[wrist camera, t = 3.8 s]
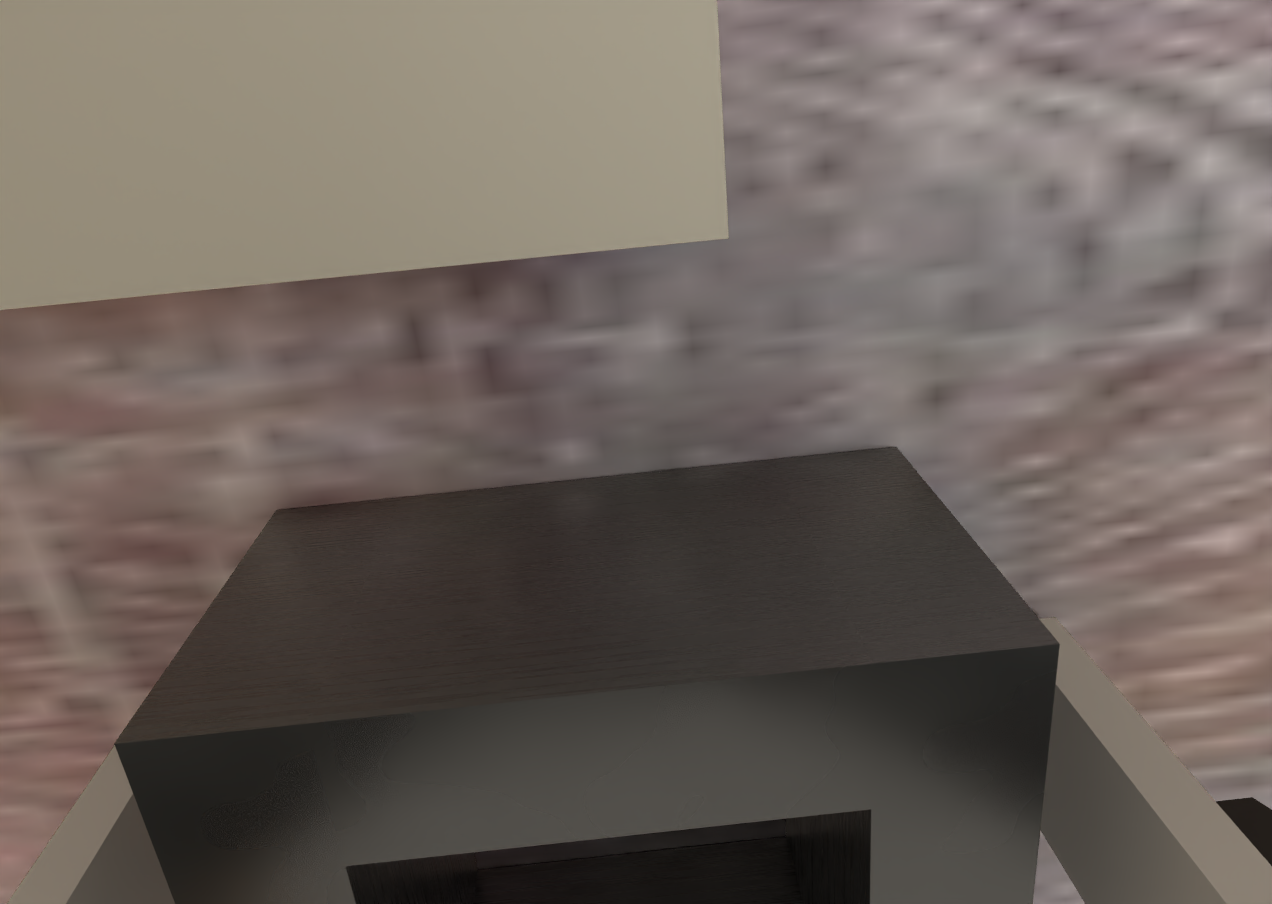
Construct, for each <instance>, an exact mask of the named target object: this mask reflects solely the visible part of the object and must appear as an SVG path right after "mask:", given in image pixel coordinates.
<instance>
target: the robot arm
mask: <svg viewBox="0 0 1272 904" xmlns="http://www.w3.org/2000/svg"><path fill="white" fill-rule="evenodd" d="M1040 621H1041V622H1042V623H1043V624H1044V625H1045V627H1046V628H1047V629H1048V630H1049V631H1050V633H1051V634H1052V635H1053V636H1054V637H1055V639H1056V640H1057V641H1058V642H1059V644H1060V647H1059V656H1058V666H1057V675H1056V685H1055V694H1054V704H1053V713H1052V723H1051V732H1050V742H1049V751H1048V761H1047V770H1046V780H1045V789H1044V799H1043V808H1042V818H1041V827H1040V830H1041V831H1042V833H1043V835H1044V836H1045V838H1046V840H1047V841H1048V843H1049V845H1050V846H1051V848H1052V850H1053V851H1054V853H1055V855H1056V856H1057V858H1058V859H1059V861H1060V863H1061V864H1062V866H1063V868H1064V869H1065V871H1066V873H1067V874H1068V876H1069V878H1070V879H1071V881H1072V882H1073V884H1074V886H1075V887H1076V889H1077V891H1078V892H1079V894H1080V896H1081V897H1082V899H1083V901H1084V902H1085V904H1272V810H1271V809H1270V808H1268V807H1267V806H1265V805H1263V804H1262V803H1260V802H1259V801H1257V800H1256V799H1254V798H1252V797H1251V798H1243V799H1234V800H1225V801H1216V802H1215V800H1214V799H1213V798H1212V797H1211V796H1210V795H1209V794H1208V792H1207V791H1206V790H1205V789H1204V788H1203V787H1202V786H1201V784H1200V783H1199V782H1198V781H1197V780H1196V779H1195V777H1194V776H1193V775H1192V774H1191V773H1190V772H1189V771H1188V769H1187V768H1186V767H1185V766H1184V765H1183V764H1182V763H1181V761H1180V760H1179V759H1178V758H1177V757H1176V756H1175V755H1174V753H1173V752H1172V751H1171V750H1170V749H1169V748H1168V746H1167V745H1166V744H1165V743H1164V742H1163V741H1162V740H1161V738H1160V737H1159V736H1158V735H1157V734H1156V733H1155V732H1154V730H1153V729H1152V728H1151V727H1150V726H1149V725H1148V723H1147V722H1146V721H1145V720H1144V719H1143V718H1142V717H1141V715H1140V714H1139V713H1138V712H1137V711H1136V710H1135V709H1134V707H1133V706H1132V705H1131V704H1130V703H1129V702H1128V700H1127V699H1126V698H1125V697H1124V696H1123V695H1122V694H1121V692H1120V691H1119V690H1118V689H1117V688H1116V687H1115V686H1114V684H1113V683H1112V682H1111V681H1110V680H1109V679H1108V678H1107V676H1106V675H1105V674H1104V673H1103V672H1102V671H1101V669H1100V668H1099V667H1098V666H1097V665H1096V664H1095V663H1094V661H1093V660H1092V659H1091V658H1090V657H1089V656H1088V655H1087V653H1086V652H1085V651H1084V650H1083V649H1082V648H1081V646H1080V645H1079V644H1078V643H1077V642H1076V641H1075V640H1074V638H1073V637H1072V636H1071V635H1070V634H1069V633H1068V632H1067V630H1066V629H1065V628H1064V627H1063V626H1062V625H1061V623H1060V622H1059V621H1058V620H1057V619H1056V618H1055V617H1051V618H1042V619H1040ZM7 904H175V902H174V899H173V897H172V894H171V892H170V889H169V886H168V884H167V881H166V878H165V876H164V873H163V871H162V868H161V865H160V863H159V860H158V857H157V855H156V852H155V850H154V847H153V844H152V842H151V839H150V836H149V834H148V831H147V829H146V826H145V823H144V821H143V818H142V815H141V813H140V810H139V808H138V805H137V802H136V800H135V797H134V794H133V792H132V789H131V787H130V784H129V781H128V779H127V776H126V773H125V771H124V768H123V766H122V763H121V760H120V758H119V755H118V752H117V750H116V747H115V745H114V747H113V748H112V750H111V751H110V753H109V754H108V756H107V757H106V759H105V760H104V762H103V763H102V765H101V766H100V768H99V769H98V770H97V772H96V773H95V775H94V776H93V778H92V779H91V781H90V782H89V784H88V785H87V787H86V788H85V790H84V791H83V793H82V794H81V795H80V797H79V798H78V800H77V801H76V803H75V804H74V806H73V807H72V809H71V810H70V812H69V813H68V815H67V816H66V818H65V819H64V820H63V822H62V823H61V825H60V826H59V828H58V829H57V831H56V832H55V834H54V835H53V837H52V838H51V840H50V841H49V842H48V844H47V845H46V847H45V848H44V850H43V851H42V853H41V854H40V856H39V857H38V859H37V860H36V862H35V863H34V865H33V866H32V867H31V869H30V870H29V872H28V873H27V875H26V876H25V878H24V879H23V881H22V882H21V884H20V885H19V887H18V888H17V890H16V891H15V892H14V894H13V895H12V897H11V898H10V900H9V901H8V903H7Z"/></svg>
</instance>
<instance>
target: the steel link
mask: <svg viewBox="0 0 1272 904" xmlns="http://www.w3.org/2000/svg"><path fill="white" fill-rule="evenodd" d="M1059 647H1060V644H1059V642H1058V641H1057V640H1056V639H1055V637H1054V636H1053V635H1052V634H1051V633H1050V631H1049V630H1048V629H1047V628H1046V627H1045V625H1044V624H1043V623H1042V622H1041V621H1040V619H1039V618H1038V617H1037V616H1036V615H1035V613H1034V612H1033V611H1032V610H1031V609H1030V607H1029V606H1028V605H1027V604H1026V603H1025V601H1024V600H1023V599H1022V598H1021V597H1020V595H1019V594H1018V593H1017V592H1016V591H1015V589H1014V588H1013V587H1012V586H1011V585H1010V583H1009V582H1008V581H1007V580H1006V578H1005V577H1004V576H1003V575H1002V574H1001V572H1000V571H999V570H998V569H997V568H996V566H995V565H994V564H993V563H992V562H991V560H990V559H989V558H988V557H987V556H986V554H985V553H984V552H983V551H982V550H981V548H980V547H979V546H978V545H977V544H976V542H975V541H974V540H973V539H972V538H971V536H970V535H969V534H968V533H967V532H966V530H965V529H964V528H963V527H962V526H961V524H960V523H959V522H958V521H957V519H956V518H955V517H954V516H953V515H952V513H951V512H950V511H949V510H948V509H947V507H946V506H945V505H944V504H943V503H942V501H941V500H940V499H939V498H938V497H937V495H936V494H935V493H934V492H933V491H932V489H931V488H930V487H929V486H928V485H927V483H926V482H925V481H924V480H923V479H922V477H921V476H920V475H919V474H918V473H917V471H916V470H915V469H914V468H913V466H912V465H911V464H910V463H909V462H908V460H907V459H906V458H905V457H904V456H903V454H902V453H901V452H900V451H899V450H898V448H897V447H891V448H881V449H871V450H861V451H852V452H842V453H832V454H822V455H813V456H803V457H793V458H783V459H773V460H764V461H754V462H744V463H734V464H724V465H715V466H705V467H695V468H685V469H676V470H666V471H656V472H646V473H636V474H627V475H617V476H607V477H597V478H587V479H578V480H568V481H558V482H548V483H539V484H529V485H519V486H509V487H499V488H490V489H480V490H470V491H460V492H450V493H441V494H431V495H421V496H411V497H402V498H392V499H382V500H372V501H362V502H353V503H343V504H333V505H323V506H313V507H304V508H294V509H284V510H276V512H275V513H274V514H273V516H272V517H271V519H270V520H269V522H268V523H267V524H266V526H265V527H264V529H263V530H262V532H261V533H260V535H259V536H258V537H257V539H256V540H255V542H254V543H253V545H252V546H251V548H250V549H249V550H248V552H247V553H246V555H245V556H244V558H243V559H242V561H241V562H240V563H239V565H238V566H237V568H236V569H235V571H234V572H233V573H232V575H231V576H230V578H229V579H228V581H227V582H226V584H225V585H224V586H223V588H222V589H221V591H220V592H219V594H218V595H217V597H216V598H215V599H214V601H213V602H212V604H211V605H210V607H209V608H208V610H207V611H206V612H205V614H204V615H203V617H202V618H201V620H200V621H199V623H198V624H197V625H196V627H195V628H194V630H193V631H192V633H191V634H190V635H189V637H188V638H187V640H186V641H185V643H184V644H183V646H182V647H181V648H180V650H179V651H178V653H177V654H176V656H175V657H174V659H173V660H172V661H171V663H170V664H169V666H168V667H167V669H166V670H165V672H164V673H163V674H162V676H161V677H160V679H159V680H158V682H157V683H156V684H155V686H154V687H153V689H152V690H151V692H150V693H149V695H148V696H147V697H146V699H145V700H144V702H143V703H142V705H141V706H140V708H139V709H138V710H137V712H136V713H135V715H134V716H133V718H132V719H131V721H130V722H129V723H128V725H127V726H126V728H125V729H124V731H123V732H122V734H121V735H120V736H119V738H118V739H117V741H116V742H115V744H114V745H115V747H116V750H117V752H118V755H119V758H120V760H121V763H122V766H123V768H124V771H125V773H126V776H127V779H128V781H129V784H130V787H131V789H132V792H133V794H134V797H135V800H136V802H137V805H138V808H139V810H140V813H141V815H142V818H143V821H144V823H145V826H146V829H147V831H148V834H149V836H150V839H151V842H152V844H153V847H154V850H155V852H156V855H157V857H158V860H159V863H160V865H161V868H162V871H163V873H164V876H165V878H166V881H167V884H168V886H169V889H170V892H171V894H172V897H173V899H174V902H175V904H1032V903H1033V894H1034V884H1035V875H1036V865H1037V856H1038V846H1039V837H1040V827H1041V818H1042V808H1043V799H1044V789H1045V780H1046V770H1047V761H1048V751H1049V742H1050V732H1051V723H1052V713H1053V704H1054V694H1055V685H1056V675H1057V666H1058V656H1059ZM777 819H785V825H786V837H777V838H768V839H759V840H750V841H741V842H731V843H722V844H713V845H704V846H695V847H685V848H676V849H667V850H658V851H649V852H639V853H630V854H621V855H612V856H603V857H593V858H584V859H575V860H566V861H557V862H547V863H538V864H529V865H520V866H510V867H501V868H492V869H483V870H478V868H477V863H476V858H475V854H474V852H482V851H491V850H500V849H509V848H519V847H528V846H537V845H546V844H556V843H565V842H574V841H583V840H593V839H602V838H611V837H620V836H629V835H639V834H648V833H657V832H666V831H676V830H685V829H694V828H703V827H713V826H722V825H731V824H740V823H749V822H759V821H768V820H777Z"/></svg>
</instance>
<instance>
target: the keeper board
mask: <svg viewBox="0 0 1272 904" xmlns="http://www.w3.org/2000/svg"><path fill="white" fill-rule="evenodd" d="M719 239H729V235H728V215H727V194H726V174H725V153H724V133H723V112H722V92H721V71H720V51H719V30H718V10H717V0H0V310H7V309H18V308H28V307H38V306H48V305H58V304H68V303H79V302H89V301H99V300H109V299H119V298H129V297H139V296H150V295H160V294H170V293H180V292H190V291H200V290H211V289H221V288H231V287H241V286H251V285H261V284H272V283H282V282H292V281H302V280H312V279H322V278H333V277H343V276H353V275H363V274H373V273H383V272H394V271H404V270H414V269H424V268H434V267H444V266H455V265H465V264H475V263H485V262H495V261H505V260H516V259H526V258H536V257H546V256H556V255H566V254H576V253H587V252H597V251H607V250H617V249H627V248H637V247H648V246H658V245H668V244H678V243H688V242H698V241H709V240H719Z"/></svg>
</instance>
